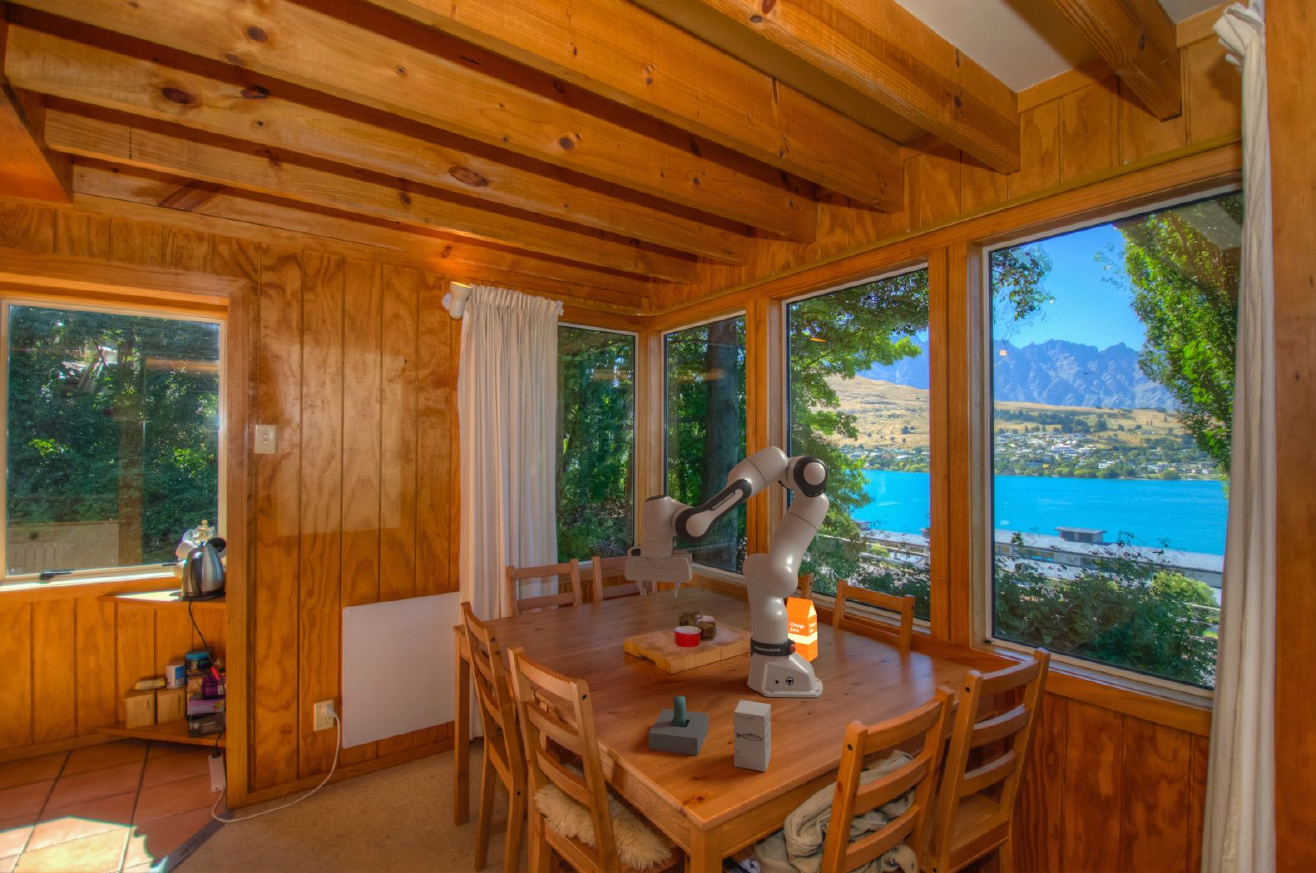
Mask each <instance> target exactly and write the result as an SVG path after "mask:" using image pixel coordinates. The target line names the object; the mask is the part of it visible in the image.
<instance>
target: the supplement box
mask: <svg viewBox="0 0 1316 873" xmlns="http://www.w3.org/2000/svg"><path fill="white" fill-rule="evenodd" d="M771 706H772V704H770V703H763V702H757V701H750V700H742V699H740V700H739V702H738V704H737V706H736V708H735V709H734V712H733V744H734V745H733V748H734V749H733V750H734V752H733V754H734V755H733V756H734V757H733V758H734V759H733V760H734V761H733V762H734V764H733V765H734V768H742V769H749V770H753V771H759V772H763V773H764V772H765V773H766V771H767V769H768V765H769V762H770V760H771V756H772V752H771V751H772V750H771V748H772V746H771V745H772V743H771V742H772V740H771V739H772V738H771V736H772V735H771V734H772V733H771V732H772V729H771V727H772V726H771V725H772V724H771V722H772V720H771V718H772V717H771V714H772V713H771V712H772V711H771Z"/></svg>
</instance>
